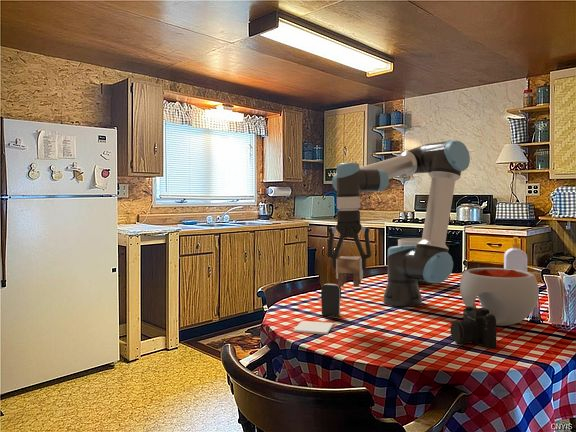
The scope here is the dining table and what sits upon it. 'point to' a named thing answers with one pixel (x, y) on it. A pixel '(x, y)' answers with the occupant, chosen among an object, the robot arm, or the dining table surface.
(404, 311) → the dining table surface
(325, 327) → the mat
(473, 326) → the camera
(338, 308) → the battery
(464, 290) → the pot
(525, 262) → the soap bottle
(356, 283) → the stool
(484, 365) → the dining table surface
